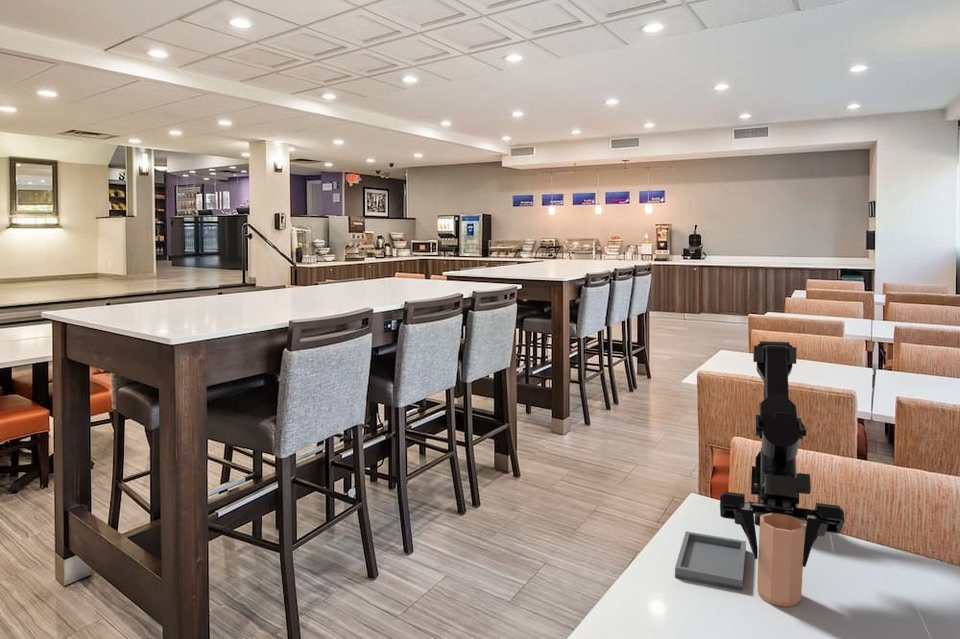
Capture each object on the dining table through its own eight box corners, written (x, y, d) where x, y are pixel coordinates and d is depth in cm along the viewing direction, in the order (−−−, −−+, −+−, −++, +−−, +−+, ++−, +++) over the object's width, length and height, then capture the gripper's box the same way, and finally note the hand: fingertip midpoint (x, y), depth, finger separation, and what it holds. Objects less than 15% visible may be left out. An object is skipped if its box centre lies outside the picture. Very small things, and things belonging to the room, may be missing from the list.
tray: (685, 539, 121) (685, 531, 121) (745, 550, 117) (745, 541, 116) (675, 577, 108) (675, 567, 108) (742, 590, 103) (742, 580, 103)
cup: (756, 582, 105) (760, 510, 104) (798, 589, 103) (802, 516, 101) (757, 602, 100) (760, 527, 98) (801, 611, 97) (805, 534, 95)
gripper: (721, 447, 106) (717, 535, 97) (845, 458, 98) (853, 555, 90) (722, 474, 114) (718, 558, 105) (836, 487, 106) (843, 579, 98)
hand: (779, 562), depth 99 cm, fingers closed on cup, 7 cm apart
